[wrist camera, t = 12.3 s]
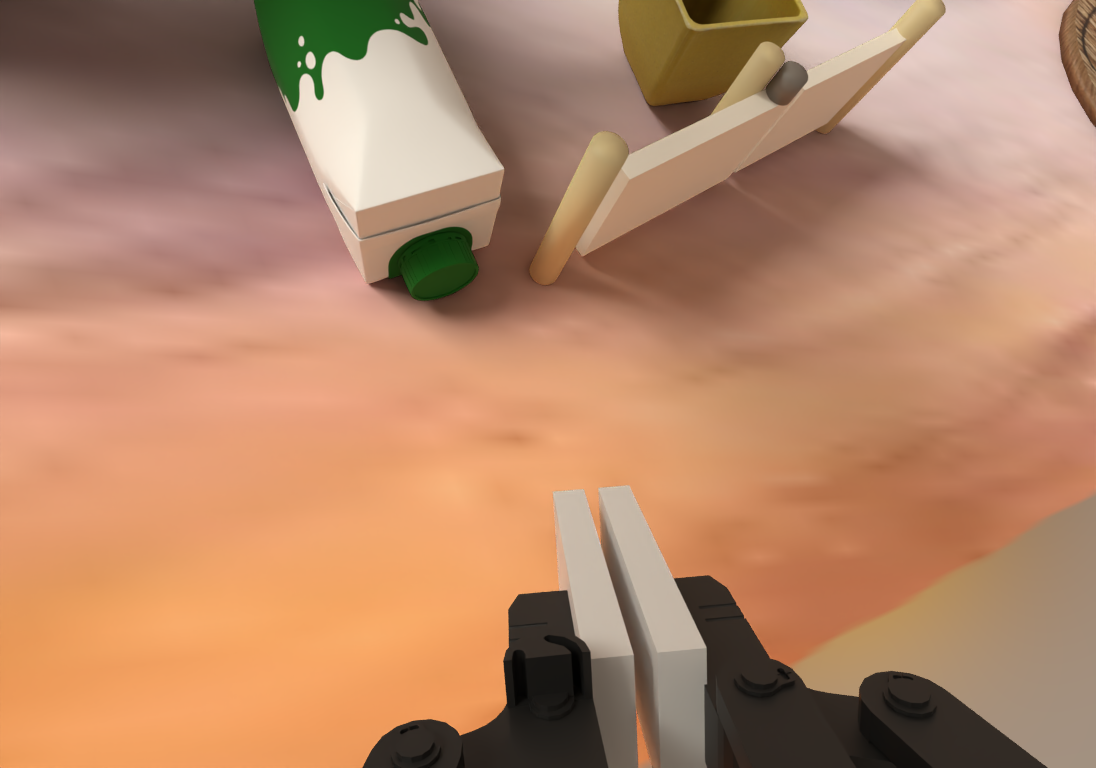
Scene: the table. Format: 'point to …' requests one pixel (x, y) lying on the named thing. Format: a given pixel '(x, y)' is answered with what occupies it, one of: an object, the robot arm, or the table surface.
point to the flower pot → (699, 42)
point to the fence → (812, 109)
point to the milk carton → (386, 137)
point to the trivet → (1080, 52)
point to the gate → (689, 160)
